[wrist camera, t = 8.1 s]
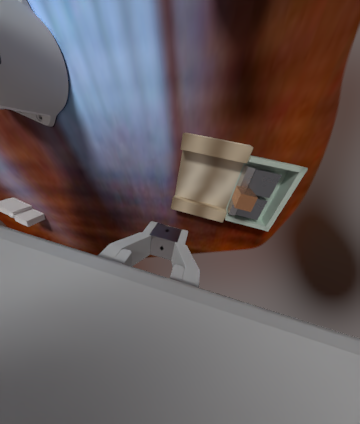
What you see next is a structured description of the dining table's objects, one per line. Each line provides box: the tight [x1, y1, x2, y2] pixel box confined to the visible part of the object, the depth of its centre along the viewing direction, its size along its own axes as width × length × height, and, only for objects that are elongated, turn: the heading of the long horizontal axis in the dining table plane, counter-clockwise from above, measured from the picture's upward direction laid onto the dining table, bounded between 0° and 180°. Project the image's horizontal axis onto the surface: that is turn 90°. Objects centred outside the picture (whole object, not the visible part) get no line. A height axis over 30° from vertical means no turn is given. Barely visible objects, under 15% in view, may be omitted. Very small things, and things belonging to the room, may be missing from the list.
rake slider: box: [227, 165, 258, 216], centre depth 23 cm, size 2×9×7 cm, turn 170°
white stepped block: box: [0, 198, 45, 227], centre depth 44 cm, size 15×11×6 cm
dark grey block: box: [247, 167, 282, 198], centre depth 23 cm, size 4×4×3 cm
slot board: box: [171, 133, 253, 223], centre depth 26 cm, size 12×15×3 cm
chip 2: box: [236, 195, 267, 220], centre depth 26 cm, size 4×4×3 cm
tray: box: [225, 155, 308, 231], centre depth 25 cm, size 8×12×4 cm
